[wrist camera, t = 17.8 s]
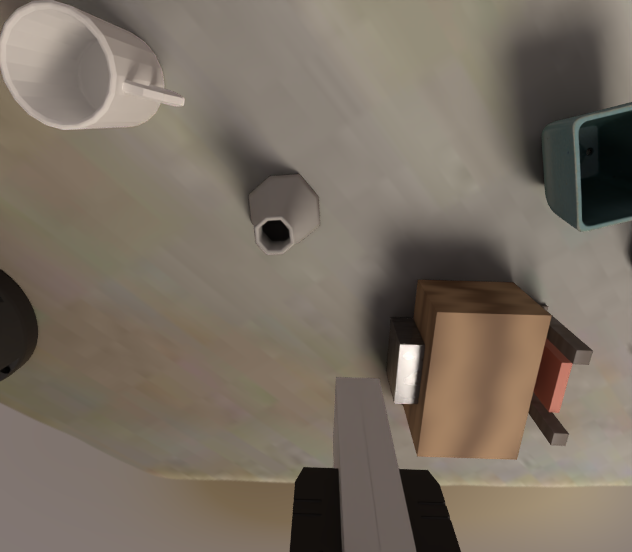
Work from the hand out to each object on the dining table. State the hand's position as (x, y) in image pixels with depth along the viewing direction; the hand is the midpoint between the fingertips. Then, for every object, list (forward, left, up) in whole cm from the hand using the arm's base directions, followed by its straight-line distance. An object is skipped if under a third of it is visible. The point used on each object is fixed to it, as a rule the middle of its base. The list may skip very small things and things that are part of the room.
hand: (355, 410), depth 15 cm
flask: (-5, +1, -30) cm, 30 cm away
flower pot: (+22, +7, -30) cm, 38 cm away
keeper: (+22, -14, -28) cm, 38 cm away
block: (+16, -14, -29) cm, 36 cm away
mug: (-18, +12, -30) cm, 37 cm away
